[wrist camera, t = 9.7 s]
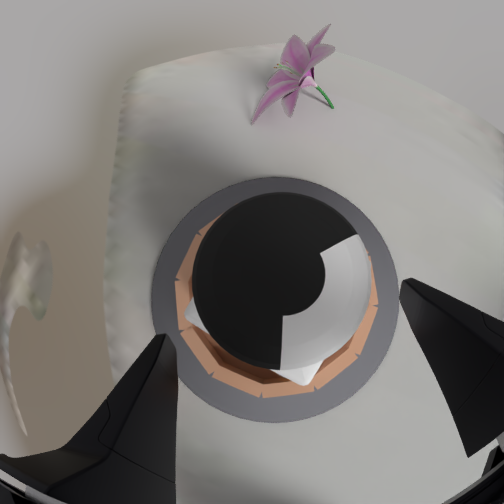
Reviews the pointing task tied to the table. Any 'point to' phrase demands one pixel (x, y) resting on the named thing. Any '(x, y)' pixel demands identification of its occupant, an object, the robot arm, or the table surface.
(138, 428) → the robot arm
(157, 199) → the table surface
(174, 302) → the rubber mat
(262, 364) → the medicine bottle
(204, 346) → the terracotta bowl
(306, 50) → the lily
